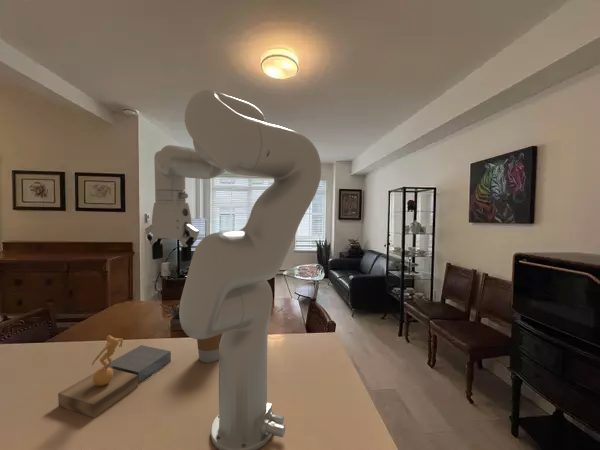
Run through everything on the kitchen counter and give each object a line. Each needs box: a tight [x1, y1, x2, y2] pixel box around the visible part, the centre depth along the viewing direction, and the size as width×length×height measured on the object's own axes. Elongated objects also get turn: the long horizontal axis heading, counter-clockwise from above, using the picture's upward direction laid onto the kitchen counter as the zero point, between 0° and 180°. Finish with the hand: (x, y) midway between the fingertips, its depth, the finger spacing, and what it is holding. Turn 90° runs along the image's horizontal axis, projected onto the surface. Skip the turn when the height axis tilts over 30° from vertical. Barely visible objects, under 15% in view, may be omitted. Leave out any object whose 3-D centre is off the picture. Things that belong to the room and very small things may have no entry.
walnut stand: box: [57, 368, 139, 418], centre depth 67 cm, size 11×11×3 cm
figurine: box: [91, 334, 124, 386], centre depth 66 cm, size 8×6×12 cm
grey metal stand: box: [106, 344, 172, 384], centre depth 78 cm, size 11×11×3 cm
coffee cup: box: [196, 333, 223, 364], centre depth 84 cm, size 8×8×15 cm
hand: (171, 259), depth 78 cm, fingers open, 9 cm apart
